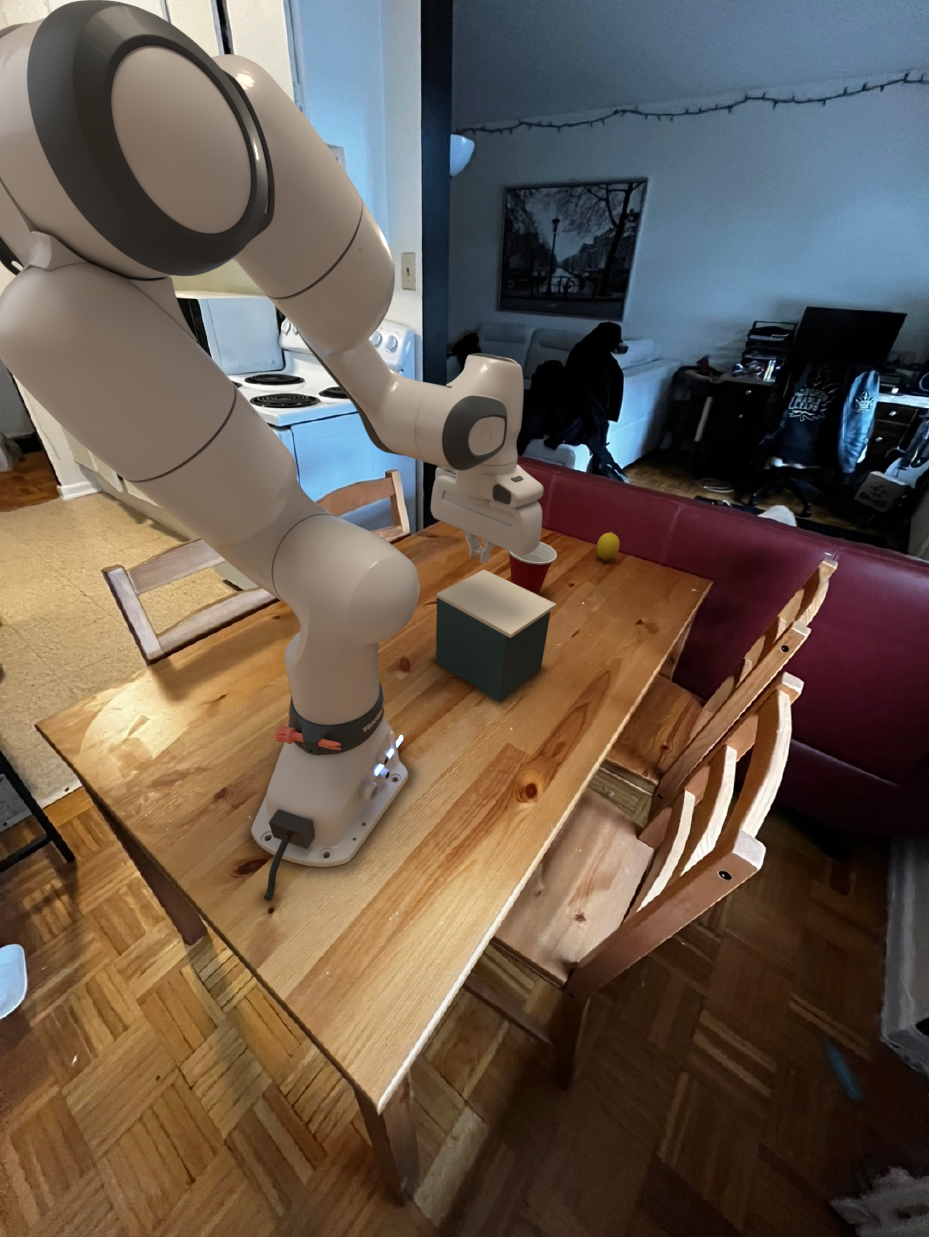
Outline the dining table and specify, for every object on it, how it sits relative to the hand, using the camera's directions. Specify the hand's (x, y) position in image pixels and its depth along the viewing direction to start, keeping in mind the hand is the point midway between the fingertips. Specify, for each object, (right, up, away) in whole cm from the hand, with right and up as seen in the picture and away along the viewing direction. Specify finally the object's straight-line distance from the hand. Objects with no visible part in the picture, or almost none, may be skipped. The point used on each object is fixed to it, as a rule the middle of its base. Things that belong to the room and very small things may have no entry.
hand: (479, 559), depth 82 cm
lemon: (+34, +5, +48) cm, 59 cm away
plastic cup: (+12, -5, +32) cm, 35 cm away
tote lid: (+3, -7, +3) cm, 8 cm away
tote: (+2, -18, +11) cm, 22 cm away
